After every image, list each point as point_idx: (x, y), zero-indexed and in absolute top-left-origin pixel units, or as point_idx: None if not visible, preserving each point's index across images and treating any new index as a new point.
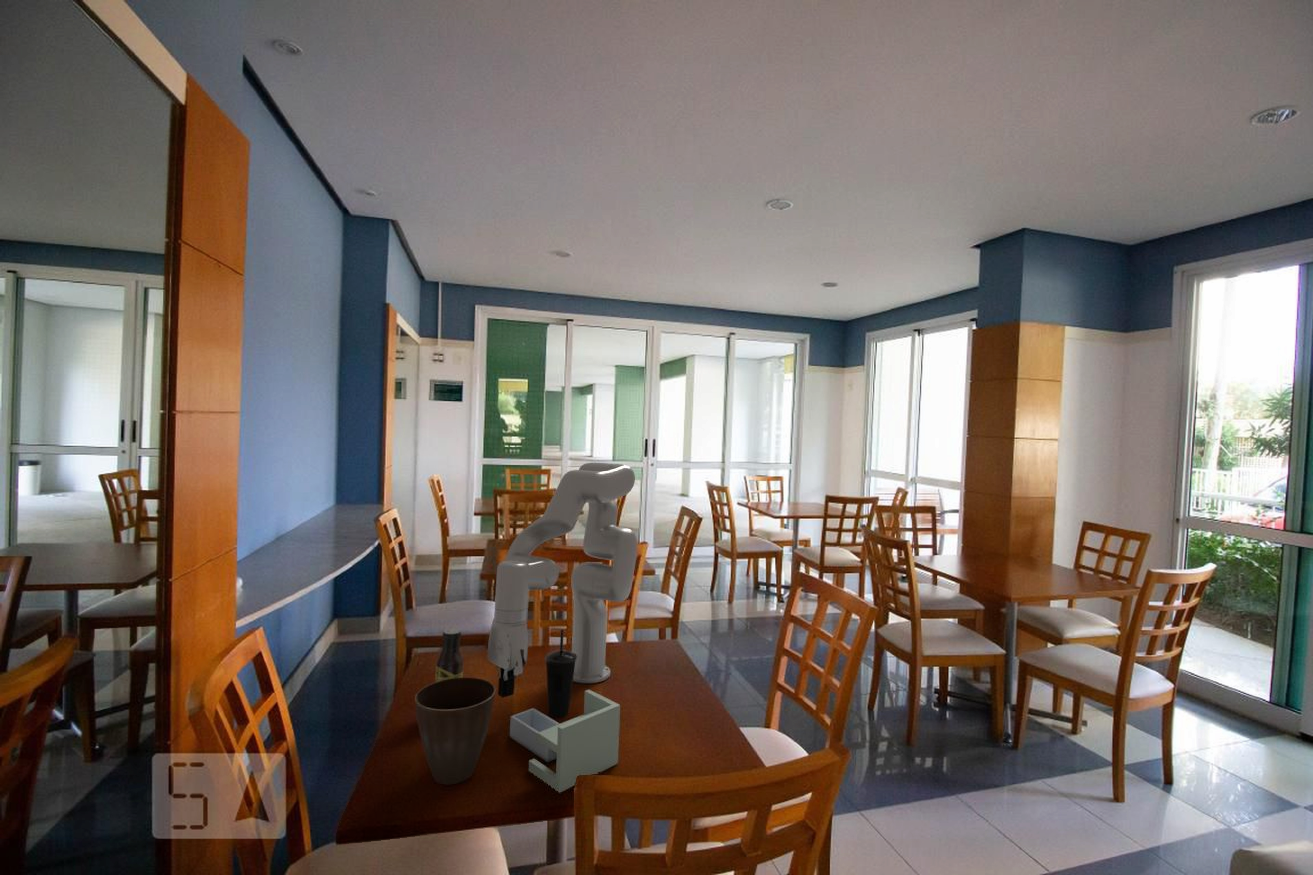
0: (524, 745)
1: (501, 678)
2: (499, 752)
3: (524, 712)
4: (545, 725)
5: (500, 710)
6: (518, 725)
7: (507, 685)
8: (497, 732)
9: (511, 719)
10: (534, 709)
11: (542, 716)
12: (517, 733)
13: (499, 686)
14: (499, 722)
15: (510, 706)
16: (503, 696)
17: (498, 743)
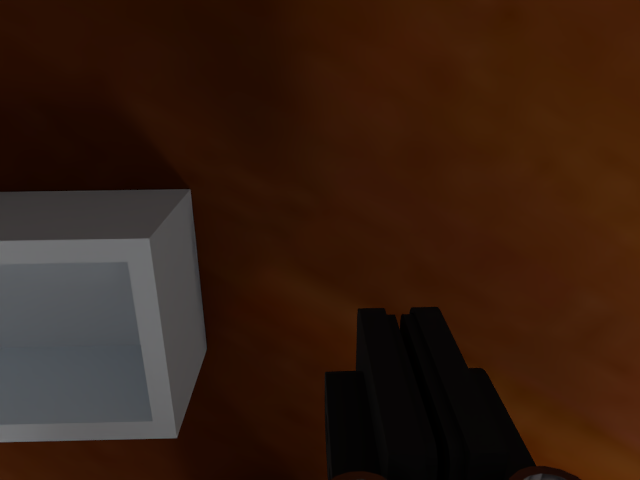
0: (8, 193)
1: (468, 472)
2: (25, 15)
3: (147, 355)
4: (5, 385)
5: (542, 322)
6: (37, 228)
7: (328, 440)
8: (295, 156)
9: (142, 230)
10: (151, 432)
11: (16, 418)
12: (75, 206)
13: (441, 367)
14: (408, 237)
15: (537, 390)
16: (357, 327)
17: (149, 79)
